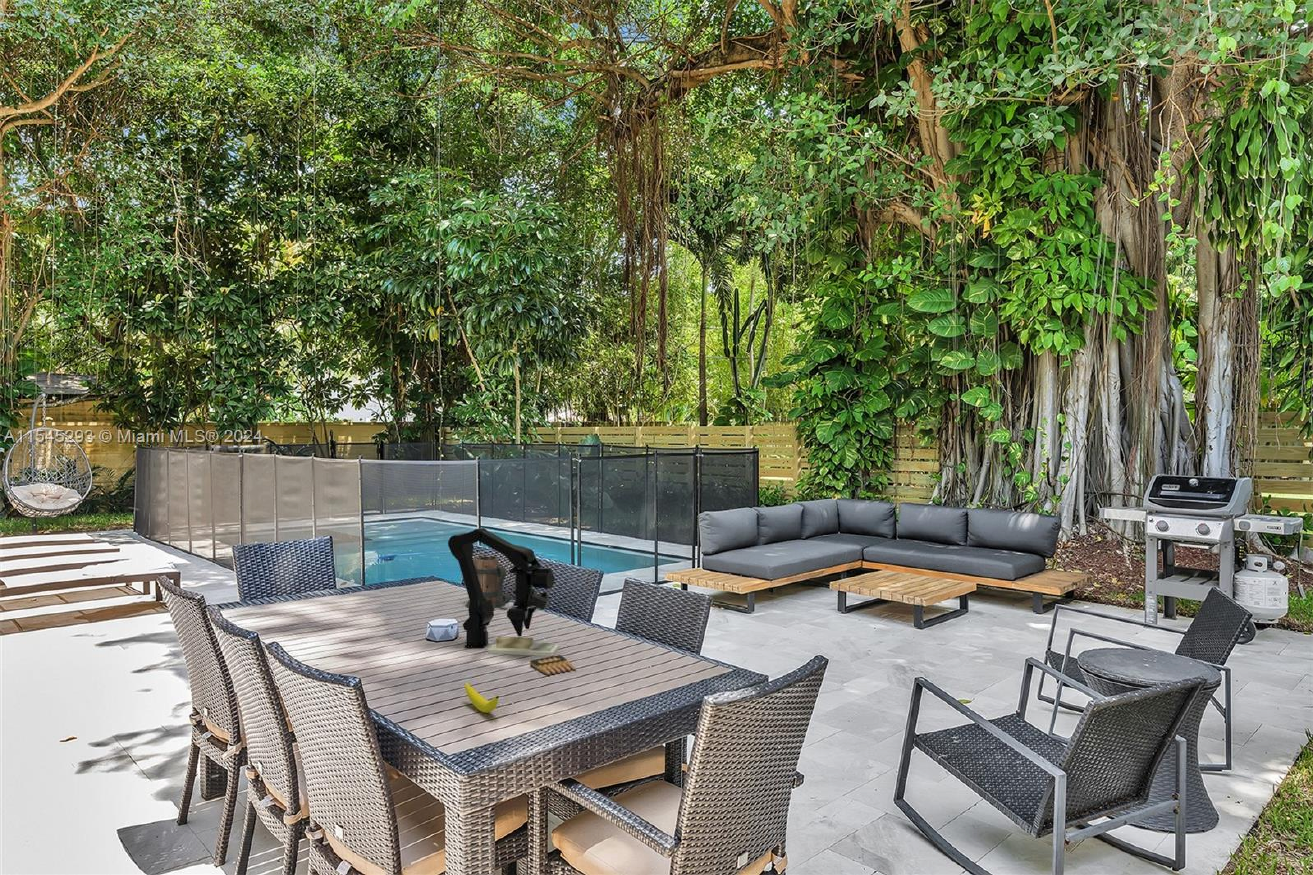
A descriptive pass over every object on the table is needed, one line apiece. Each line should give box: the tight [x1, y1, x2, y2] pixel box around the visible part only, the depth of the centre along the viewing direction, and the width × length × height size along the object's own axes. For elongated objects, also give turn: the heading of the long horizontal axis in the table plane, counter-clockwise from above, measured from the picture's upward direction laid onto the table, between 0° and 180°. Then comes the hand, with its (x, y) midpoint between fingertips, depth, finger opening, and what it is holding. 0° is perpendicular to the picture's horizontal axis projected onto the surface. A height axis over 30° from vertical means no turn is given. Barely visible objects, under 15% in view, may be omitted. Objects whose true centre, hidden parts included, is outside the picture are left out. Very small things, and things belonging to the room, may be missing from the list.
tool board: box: [487, 643, 560, 657], centre depth 259 cm, size 22×9×1 cm, turn 84°
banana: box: [464, 682, 500, 714], centre depth 205 cm, size 3×19×6 cm, turn 39°
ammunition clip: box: [529, 654, 577, 676], centre depth 240 cm, size 11×2×12 cm
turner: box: [495, 636, 556, 651], centre depth 259 cm, size 19×6×3 cm, turn 84°
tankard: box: [465, 555, 511, 609], centre depth 323 cm, size 24×17×20 cm
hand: (523, 632), depth 259 cm, fingers open, 9 cm apart
